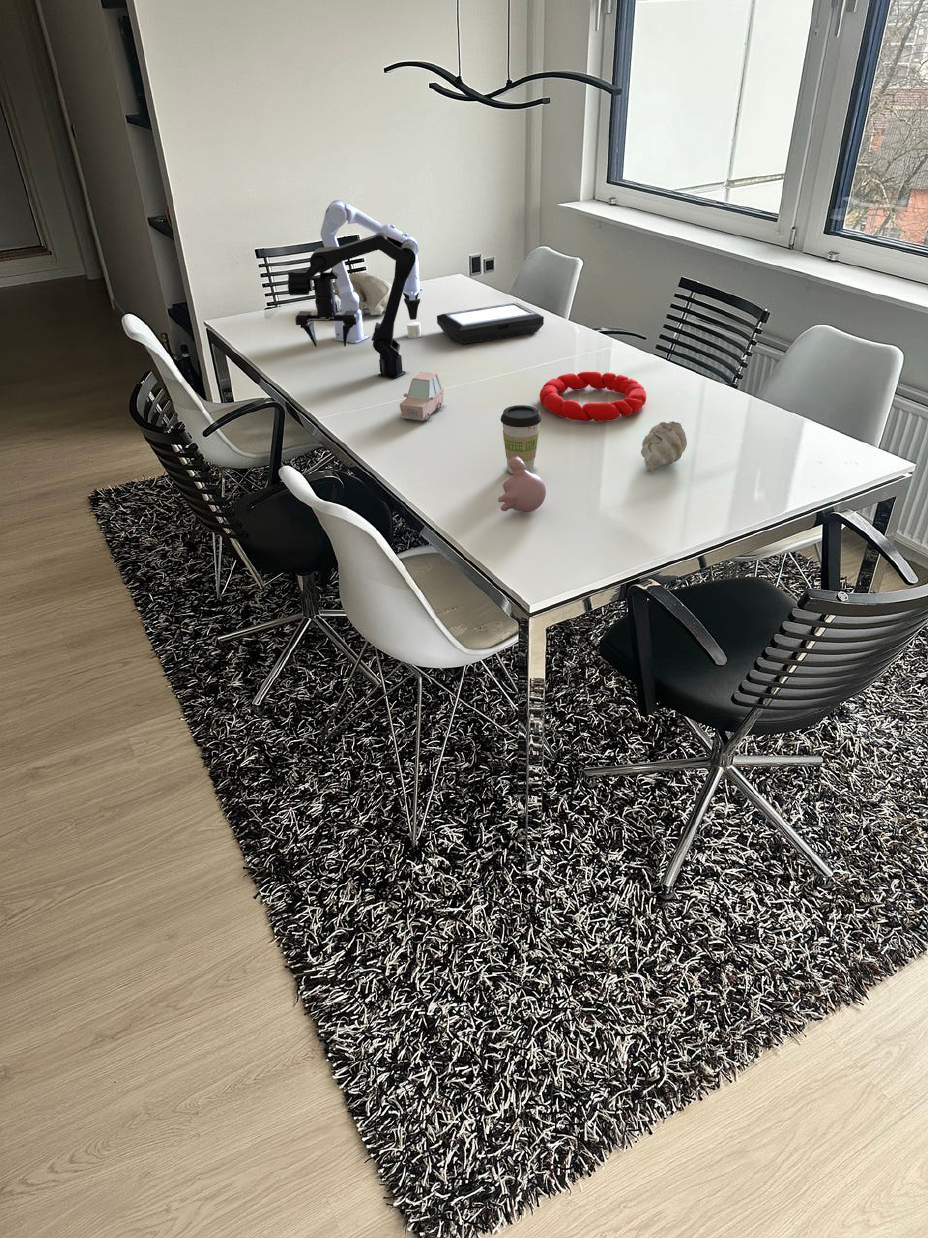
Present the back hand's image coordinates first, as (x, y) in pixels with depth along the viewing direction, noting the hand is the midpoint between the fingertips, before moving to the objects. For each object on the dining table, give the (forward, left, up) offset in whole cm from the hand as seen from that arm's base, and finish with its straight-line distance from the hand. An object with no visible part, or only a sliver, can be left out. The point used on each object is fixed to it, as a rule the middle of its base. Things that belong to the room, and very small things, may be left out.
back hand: (412, 316), depth 309 cm
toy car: (+41, -61, -7) cm, 74 cm away
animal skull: (-34, +19, -7) cm, 39 cm away
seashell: (+112, -63, -7) cm, 129 cm away
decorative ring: (+82, -34, -7) cm, 89 cm away
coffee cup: (+83, -82, -7) cm, 117 cm away
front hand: (-1, -46, +3) cm, 46 cm away
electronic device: (+23, +15, -7) cm, 28 cm away
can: (0, 0, -7) cm, 7 cm away
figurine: (+93, -101, -7) cm, 138 cm away
